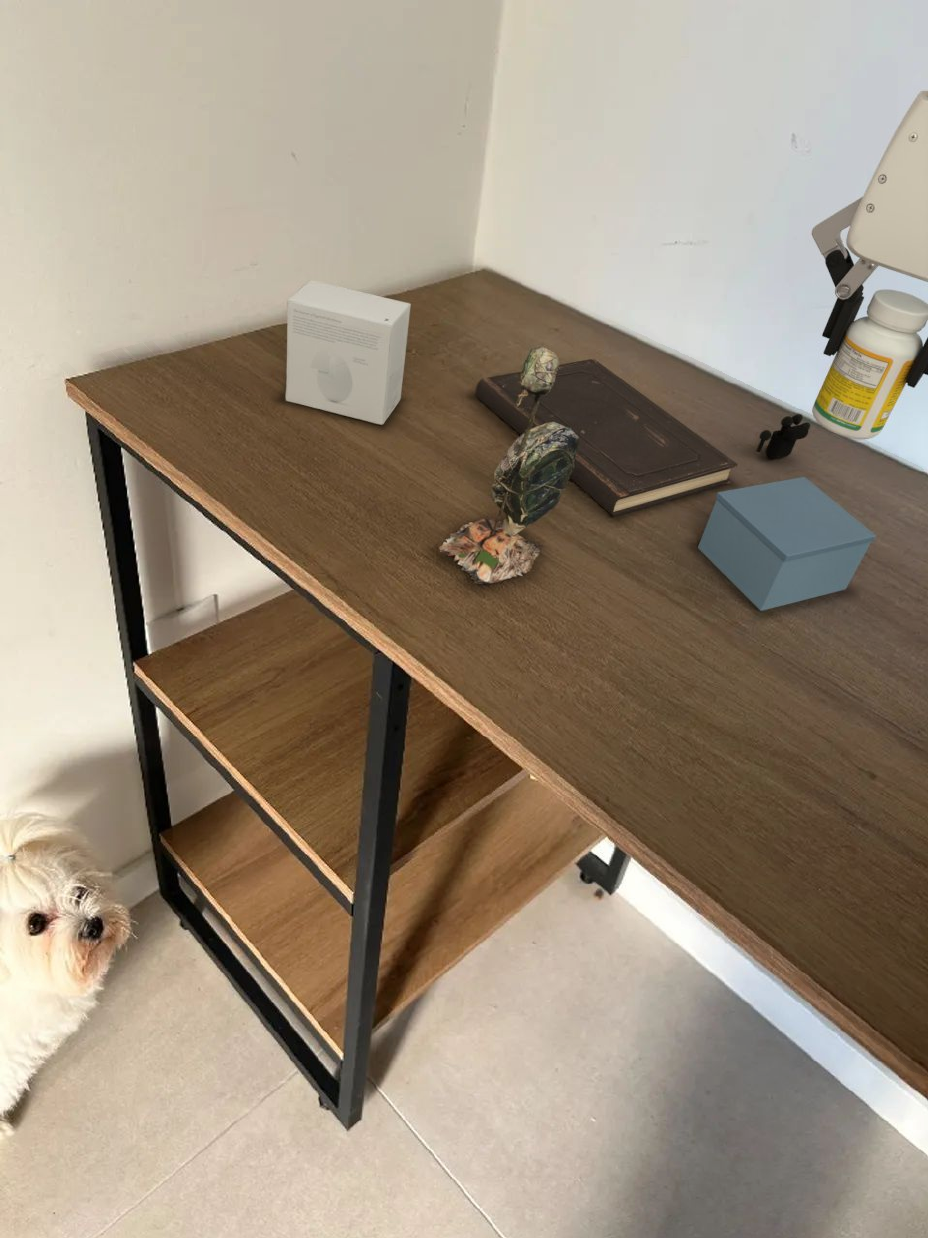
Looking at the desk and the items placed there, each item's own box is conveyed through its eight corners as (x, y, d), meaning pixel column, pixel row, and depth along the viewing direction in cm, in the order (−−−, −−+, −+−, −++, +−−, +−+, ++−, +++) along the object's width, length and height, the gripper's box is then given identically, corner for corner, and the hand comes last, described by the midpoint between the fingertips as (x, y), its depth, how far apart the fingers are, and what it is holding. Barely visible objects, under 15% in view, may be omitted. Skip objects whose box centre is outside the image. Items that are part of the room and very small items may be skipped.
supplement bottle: (826, 438, 68) (883, 313, 62) (799, 402, 72) (851, 281, 66) (892, 444, 69) (956, 321, 63) (863, 407, 73) (919, 288, 67)
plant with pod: (580, 563, 80) (643, 345, 67) (470, 597, 74) (515, 367, 61) (526, 511, 84) (575, 298, 71) (419, 539, 79) (451, 314, 66)
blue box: (847, 590, 82) (877, 535, 78) (760, 612, 78) (787, 556, 74) (779, 529, 88) (804, 476, 84) (695, 547, 84) (717, 492, 80)
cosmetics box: (402, 398, 97) (413, 300, 90) (382, 427, 92) (392, 326, 85) (307, 373, 98) (310, 275, 91) (283, 400, 93) (285, 299, 86)
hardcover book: (589, 376, 107) (593, 357, 105) (730, 483, 93) (738, 463, 92) (473, 398, 99) (477, 378, 97) (609, 518, 86) (616, 497, 84)
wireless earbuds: (794, 448, 101) (812, 407, 97) (810, 460, 99) (829, 419, 96) (747, 457, 98) (764, 415, 94) (763, 470, 96) (780, 428, 93)
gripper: (1159, 117, 55) (1000, 392, 67) (878, 45, 61) (778, 310, 73) (1153, 134, 50) (983, 429, 62) (847, 55, 56) (745, 338, 68)
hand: (873, 362), depth 67 cm, fingers closed on supplement bottle, 5 cm apart
